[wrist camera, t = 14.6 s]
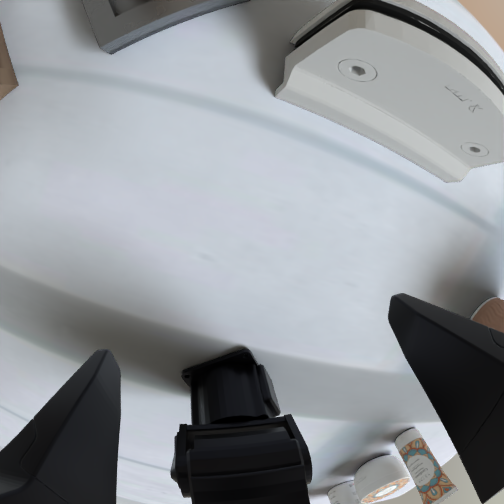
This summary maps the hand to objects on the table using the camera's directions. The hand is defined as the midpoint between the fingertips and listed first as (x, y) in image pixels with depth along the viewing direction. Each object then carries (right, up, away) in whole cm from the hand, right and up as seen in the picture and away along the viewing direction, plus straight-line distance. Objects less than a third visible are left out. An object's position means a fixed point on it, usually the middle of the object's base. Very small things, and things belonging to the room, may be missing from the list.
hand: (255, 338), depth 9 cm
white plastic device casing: (+10, +14, +10) cm, 20 cm away
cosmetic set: (+21, -35, +35) cm, 53 cm away
